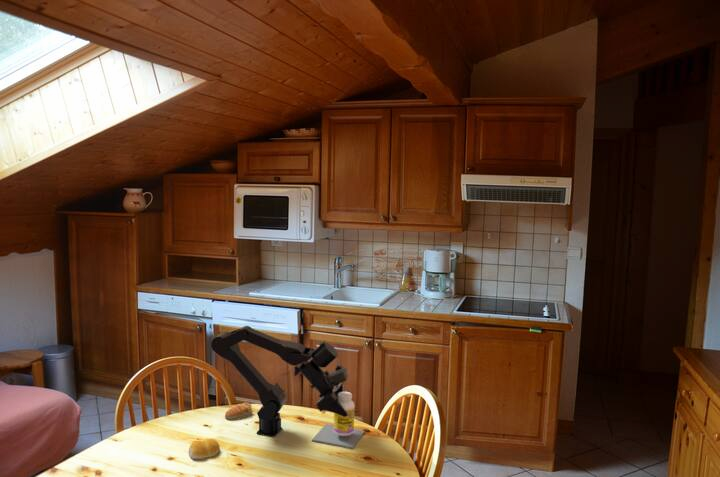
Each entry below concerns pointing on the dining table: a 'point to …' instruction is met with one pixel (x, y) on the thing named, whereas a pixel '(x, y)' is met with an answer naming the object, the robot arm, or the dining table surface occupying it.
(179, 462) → the dining table surface
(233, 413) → the pastry
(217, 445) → the bread roll
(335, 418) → the supplement bottle
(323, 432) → the rubber mat
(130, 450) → the dining table surface
